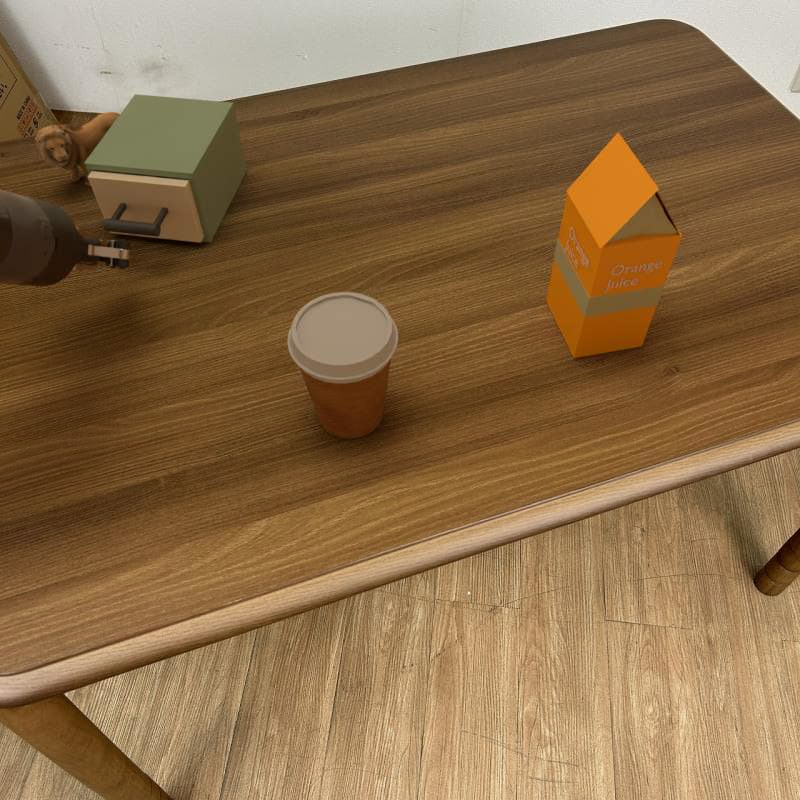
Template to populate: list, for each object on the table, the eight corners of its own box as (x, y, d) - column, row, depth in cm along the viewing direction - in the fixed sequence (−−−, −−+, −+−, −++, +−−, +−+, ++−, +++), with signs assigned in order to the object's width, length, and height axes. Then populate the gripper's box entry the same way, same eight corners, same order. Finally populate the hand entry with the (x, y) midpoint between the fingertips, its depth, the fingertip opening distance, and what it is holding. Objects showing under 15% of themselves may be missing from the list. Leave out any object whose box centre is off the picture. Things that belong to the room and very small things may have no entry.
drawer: (188, 267, 84) (171, 211, 78) (94, 256, 86) (69, 200, 79) (236, 175, 95) (224, 119, 89) (151, 166, 96) (134, 111, 90)
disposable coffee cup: (419, 421, 71) (420, 336, 62) (335, 470, 68) (323, 387, 59) (364, 361, 76) (357, 273, 67) (283, 404, 73) (264, 317, 64)
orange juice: (610, 289, 83) (658, 125, 67) (643, 346, 77) (703, 183, 62) (543, 300, 82) (575, 137, 66) (572, 359, 76) (614, 196, 61)
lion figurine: (76, 206, 93) (49, 142, 86) (46, 193, 95) (17, 129, 87) (157, 148, 100) (138, 85, 93) (129, 137, 102) (108, 74, 95)
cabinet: (211, 242, 88) (192, 173, 81) (111, 232, 90) (83, 163, 82) (247, 171, 97) (233, 102, 90) (155, 162, 99) (134, 94, 91)
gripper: (-66, 275, 63) (54, 285, 80) (80, 292, 61) (171, 298, 78) (-63, 185, 62) (58, 214, 79) (86, 199, 60) (176, 226, 78)
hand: (114, 256), depth 79 cm, fingers closed
